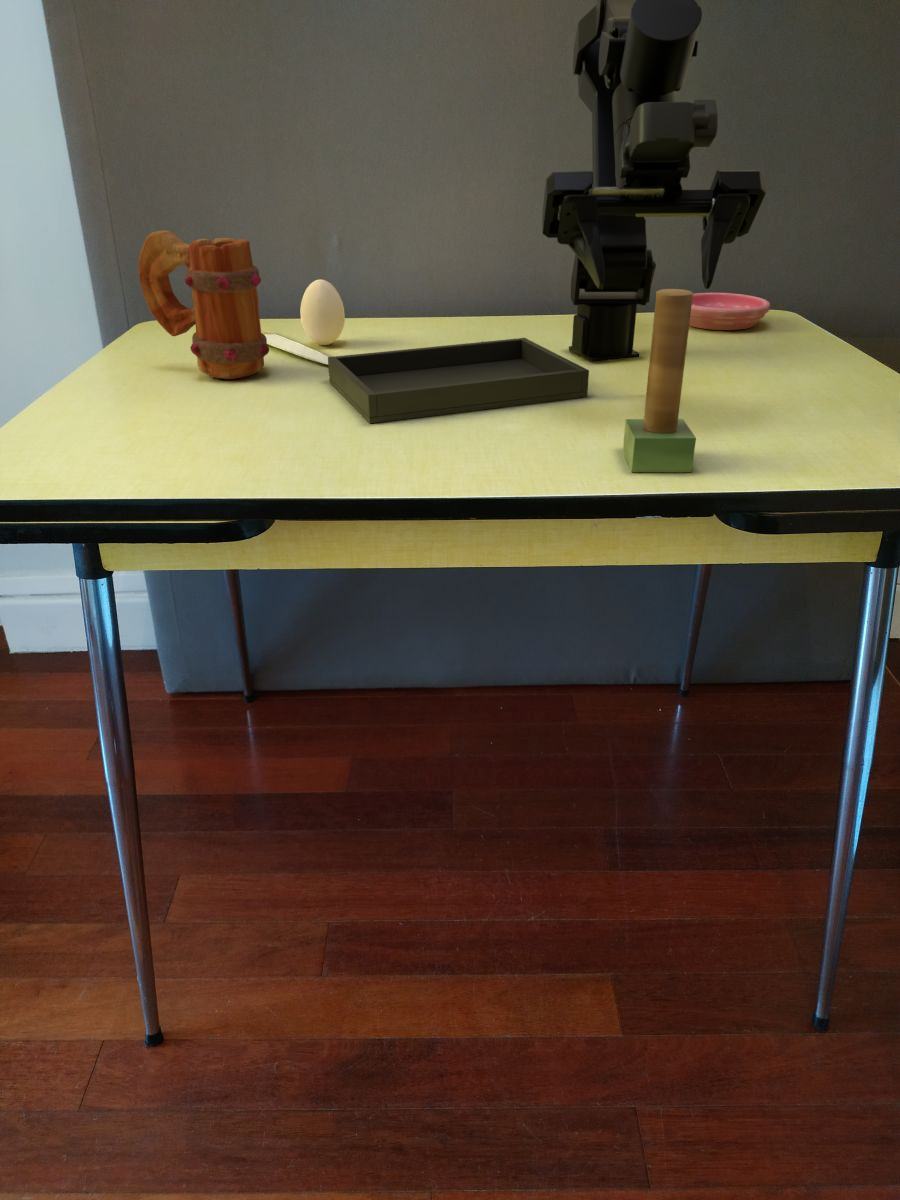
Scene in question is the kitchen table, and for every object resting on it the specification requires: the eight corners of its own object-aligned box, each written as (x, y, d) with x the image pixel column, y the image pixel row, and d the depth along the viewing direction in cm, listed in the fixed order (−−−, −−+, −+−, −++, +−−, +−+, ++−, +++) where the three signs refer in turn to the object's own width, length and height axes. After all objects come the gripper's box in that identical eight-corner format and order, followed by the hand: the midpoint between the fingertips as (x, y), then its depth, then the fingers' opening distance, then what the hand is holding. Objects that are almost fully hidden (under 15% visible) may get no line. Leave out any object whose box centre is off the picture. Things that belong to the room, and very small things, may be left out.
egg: (351, 340, 117) (347, 276, 113) (339, 350, 113) (335, 284, 109) (310, 339, 118) (305, 275, 114) (297, 349, 113) (291, 283, 110)
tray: (524, 361, 107) (524, 337, 106) (587, 396, 95) (589, 370, 93) (329, 382, 100) (327, 356, 99) (369, 423, 87) (368, 395, 86)
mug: (287, 368, 105) (274, 229, 98) (252, 387, 99) (235, 239, 91) (179, 358, 110) (159, 224, 102) (138, 376, 103) (113, 234, 96)
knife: (362, 373, 107) (327, 374, 104) (227, 321, 129) (195, 320, 126) (363, 362, 106) (328, 363, 103) (227, 311, 129) (195, 311, 126)
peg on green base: (622, 451, 80) (637, 286, 73) (679, 452, 80) (699, 286, 73) (631, 472, 76) (648, 298, 69) (691, 472, 76) (714, 298, 69)
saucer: (669, 313, 130) (671, 290, 129) (758, 315, 129) (762, 292, 127) (676, 332, 120) (678, 308, 118) (773, 335, 118) (777, 310, 117)
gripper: (550, 64, 75) (554, 223, 71) (778, 62, 75) (796, 222, 70) (540, 163, 86) (543, 307, 82) (739, 162, 85) (753, 306, 81)
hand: (654, 286), depth 78 cm, fingers open, 9 cm apart
